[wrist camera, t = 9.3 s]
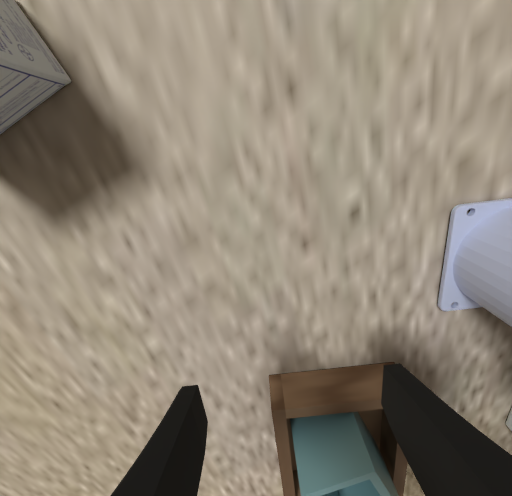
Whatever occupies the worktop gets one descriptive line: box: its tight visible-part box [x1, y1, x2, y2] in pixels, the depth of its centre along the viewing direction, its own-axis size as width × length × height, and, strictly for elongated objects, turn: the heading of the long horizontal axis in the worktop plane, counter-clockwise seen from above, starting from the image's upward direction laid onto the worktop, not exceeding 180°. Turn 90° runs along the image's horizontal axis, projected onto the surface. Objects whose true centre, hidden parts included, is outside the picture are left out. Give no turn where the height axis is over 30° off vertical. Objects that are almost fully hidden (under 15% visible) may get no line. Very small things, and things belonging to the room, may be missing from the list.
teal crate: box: [290, 412, 399, 496], centre depth 21 cm, size 5×8×6 cm, turn 29°
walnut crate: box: [269, 362, 408, 496], centre depth 23 cm, size 10×13×3 cm
